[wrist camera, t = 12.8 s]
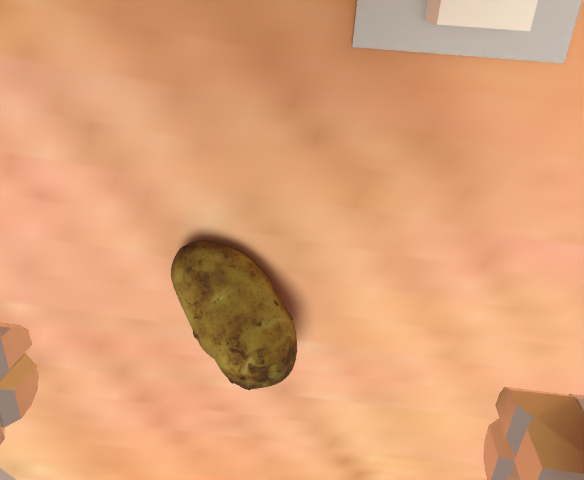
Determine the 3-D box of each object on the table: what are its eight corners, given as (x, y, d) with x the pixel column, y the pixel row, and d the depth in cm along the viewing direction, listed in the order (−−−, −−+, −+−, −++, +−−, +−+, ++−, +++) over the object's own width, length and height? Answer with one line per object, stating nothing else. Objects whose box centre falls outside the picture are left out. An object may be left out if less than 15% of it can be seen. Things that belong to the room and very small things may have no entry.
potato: (258, 211, 41) (237, 256, 34) (314, 332, 46) (305, 394, 39) (172, 240, 44) (136, 288, 36) (234, 353, 48) (212, 415, 41)
